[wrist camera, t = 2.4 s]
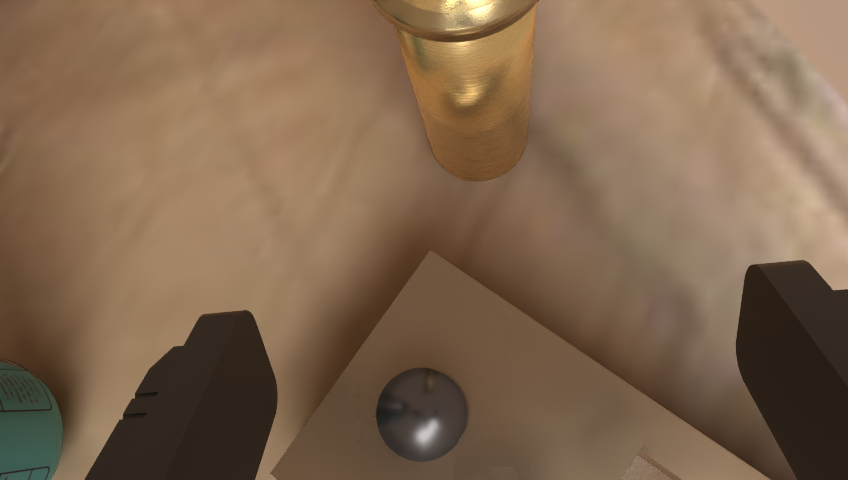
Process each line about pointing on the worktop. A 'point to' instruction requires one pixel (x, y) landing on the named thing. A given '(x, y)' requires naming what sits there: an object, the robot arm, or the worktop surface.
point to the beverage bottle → (27, 426)
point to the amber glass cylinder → (469, 78)
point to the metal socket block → (487, 402)
